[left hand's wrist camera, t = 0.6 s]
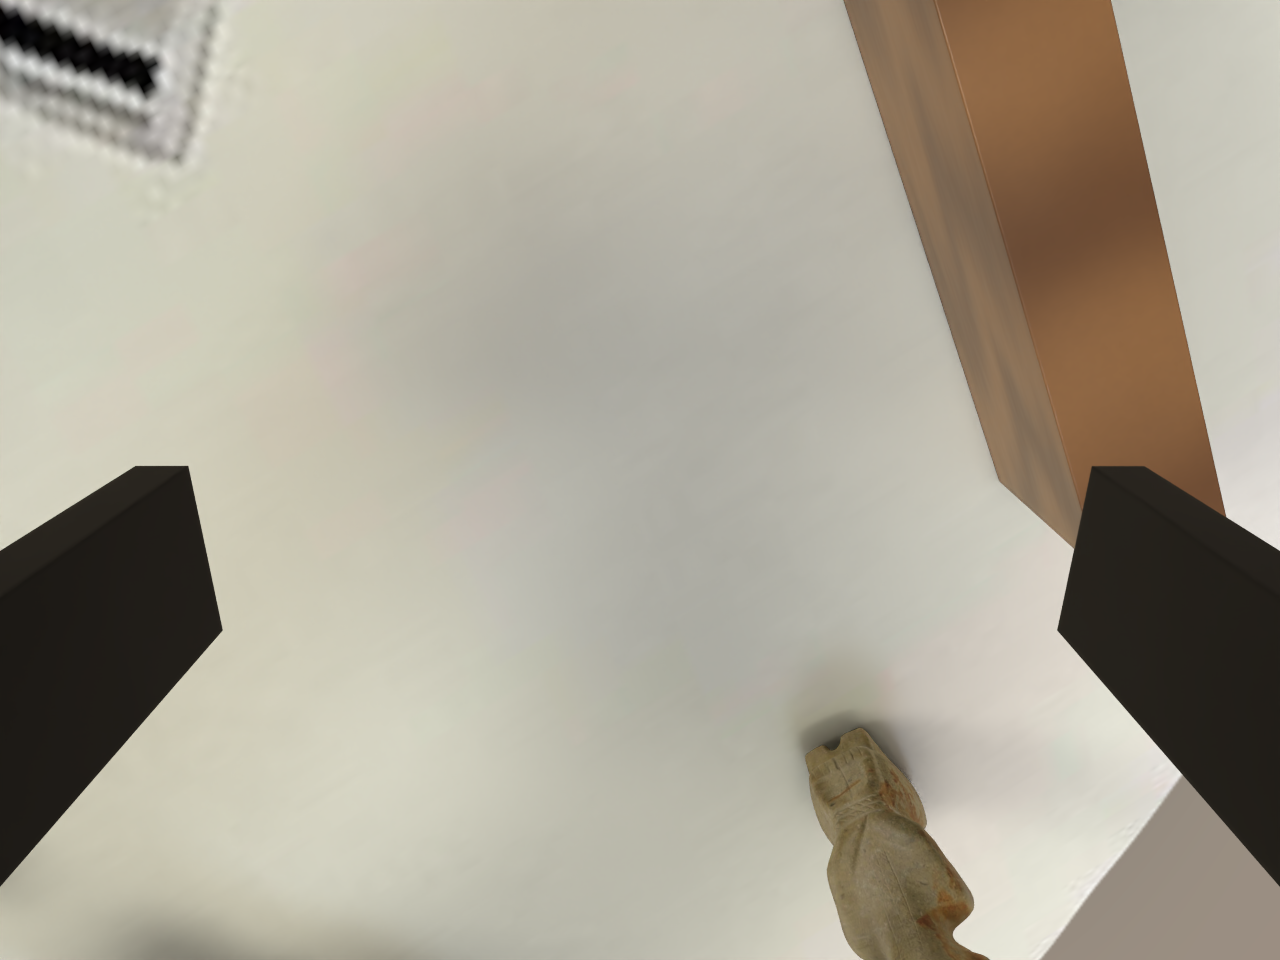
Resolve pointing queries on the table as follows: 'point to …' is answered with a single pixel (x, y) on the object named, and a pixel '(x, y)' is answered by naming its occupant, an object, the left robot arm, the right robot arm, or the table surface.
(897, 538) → the table surface
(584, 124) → the table surface
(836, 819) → the sculpture
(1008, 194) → the bar
